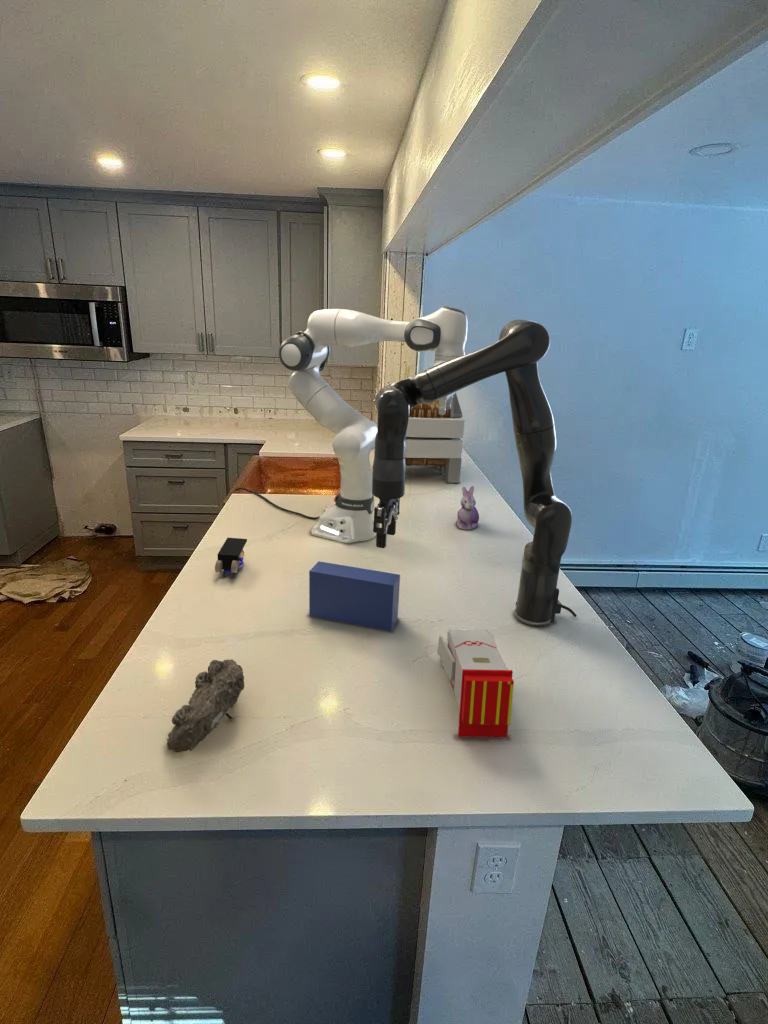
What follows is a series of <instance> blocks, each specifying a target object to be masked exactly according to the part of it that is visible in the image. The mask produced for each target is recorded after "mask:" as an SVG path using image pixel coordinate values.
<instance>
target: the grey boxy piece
mask: <svg viewBox="0 0 768 1024" xmlns="http://www.w3.org/2000/svg"><path fill="white" fill-rule="evenodd" d="M464 429H465V419H464V418H463V411H462V408H461V405H460V402H459V398H458V395H457V392H456V393H455V394H454V395H453V398H452V402H451V409H450V410H446V412H445V414H444V415H440V414H439V401H435V402H432V403H429V404H420V405H417V406H415V407H413V408H410V412H409V421H408V427H407V432H406V450H405V464H406V467H407V466H411V467H412V466H413V467H415V466H416V467H417V466H418V467H436V468H437V470H438V469H439V473H440V474H441V475H443V478H444V479H445V481H446V482H447V483H449V484H455V483H456V484H459V483H461V472H462V461H463V460H462V453H463V442H464V441H463V440H462V439H463V438H464V431H465V430H464Z"/></svg>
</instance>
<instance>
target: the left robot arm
mask: <svg viewBox="0 0 768 1024" xmlns="http://www.w3.org/2000/svg"><path fill="white" fill-rule="evenodd" d="M467 339H468V317H467V314H466V312H465V311H464V310H462V309H460V308H456V307H451V306H441V307H440V308H439V309H437V310H436V311H434V312H432V313H430V314H427V315H423V316H421V317H417V318H414V319H412V320H411V321H406V320H405V321H404V320H392V319H391V320H390V319H385V318H381V317H379V316H375V315H371V314H368V313H365V312H361V311H357V310H355V309H354V310H352V309H349V308H348V309H346V308H324V309H318V310H317V309H316V310H314V311H313V312H311V314H310V315H309V317H308V319H307V325H306V330H305V331H303V330H299V331H297V332H296V333H294V334H292V335H290V336H288V337H287V338H286V339H284V340H283V341H282V343H281V344H280V345H279V348H278V358H279V361H280V363H281V364H282V366H283V367H284V368H286V369H287V370H290V371H292V373H291V374H290V376H289V378H288V381H287V383H288V388H289V390H290V391H291V393H292V394H293V396H294V397H295V399H297V401H298V402H299V403H300V405H301V406H302V407H303V408H304V409H305V410H306V411H307V413H309V415H311V417H312V418H313V419H314V420H315V421H316V422H317V423H318V424H319V425H320V426H321V427H323V428H325V429H327V430H330V431H332V432H333V433H334V434H336V435H335V436H334V439H333V441H332V449H333V452H334V454H335V456H336V457H337V462H338V466H339V473H340V490H339V491H338V492H337V494H336V495H335V496H334V497H333V502H334V504H333V505H331V506H329V507H328V508H326V509H323V511H322V512H321V514H320V515H319V516H308V515H306V514H303V513H300V512H297V511H293V510H290V509H287V508H285V507H281V506H279V505H277V504H276V503H274V502H272V501H271V500H269V499H268V498H267V497H265V496H264V495H262V494H260V493H259V492H256V491H253V490H251V489H248V488H246V487H237V488H236V489H235V490H234V491H235V492H237V491H240V490H241V491H246V492H248V493H250V494H254V495H257V496H258V497H260V498H261V499H263V500H264V501H265V502H267V503H268V504H270V505H272V506H273V507H275V508H277V509H279V510H280V511H284V512H287V513H290V514H294V515H297V516H301V517H303V518H306V519H309V520H318V521H317V523H315V524H314V525H313V526H312V528H311V530H310V533H311V536H315V537H319V538H323V539H326V540H330V541H336V542H339V543H343V544H352V543H357V542H365V541H368V540H372V539H373V538H376V535H377V533H375V532H373V525H374V508H375V496H374V495H373V494H372V477H373V469H372V466H371V460H370V454H371V452H372V451H374V450H375V437H376V434H377V427H378V423H377V422H375V421H373V420H371V419H369V418H367V417H366V416H364V415H363V414H362V413H360V412H359V411H358V410H356V409H355V408H354V407H352V406H351V405H350V404H348V402H346V401H345V399H343V398H342V397H341V396H340V395H339V394H338V393H337V392H336V391H335V390H334V388H333V387H332V386H331V385H330V384H329V383H328V382H327V381H326V380H325V379H324V378H323V377H322V376H321V373H320V372H322V371H323V370H324V368H325V366H326V364H327V361H328V359H329V358H330V355H331V352H332V351H331V349H332V347H331V346H333V347H342V348H343V347H345V348H353V347H361V346H366V345H370V344H376V343H380V342H381V343H382V342H395V343H396V342H397V343H405V344H406V346H407V347H408V348H409V349H411V350H413V351H415V352H420V353H424V352H429V351H431V352H433V351H434V360H433V361H434V362H433V366H435V365H438V364H440V363H442V362H445V361H447V360H450V359H453V358H456V357H460V356H463V355H466V351H465V346H466V343H467ZM457 392H458V391H456V392H454V393H452V394H450V395H448V396H446V397H443V398H441V399H439V400H437V401H439V414H440V415H444V414H445V412H446V410H450V409H451V402H452V398H453V395H454V394H455V393H456V394H457Z"/></svg>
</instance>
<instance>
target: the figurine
mask: <svg viewBox="0 0 768 1024" xmlns="http://www.w3.org/2000/svg"><path fill="white" fill-rule="evenodd" d="M474 490H475V486H474V485H471V487H469V490H467V488H466V487H465V486H462V487H461V491H462V497H461V500H460V505H461V508H460V509H458V510H457V515H456V516H457V519H456V526H458V528H459V529H461V530H473V529H475V528H477V527H478V525H479V521H480V514H479V511H478V509H477V507H476V504H477V502H476V499H475V496H474V492H475V491H474Z"/></svg>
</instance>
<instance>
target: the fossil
mask: <svg viewBox="0 0 768 1024" xmlns="http://www.w3.org/2000/svg"><path fill="white" fill-rule="evenodd" d="M243 670H244V669H243V667H242V665H240V664H237V662H236V661H235V660H234V659H232V658H231V659H227V658H226V659H224V660H223V661H222V660H217V659H212V660H211V661H210V663H209V665H208V666H207V671H201V672H199V673H198V674H197V675H196V676H195V680H194V684H195V685H194V687H195V689H194V690H193V693H192V694H191V697H190V698H189V700H188V704H184V705H182V706H181V707H180V709H177V710H176V711H175V713H174V715H173V716H172V718H171V723H172V724H173V727H172V730H171V731H170V732H168V734H167V738H166V741H167V742H166V745H167V749H168V750H169V751H173V752H174V753H176V754H178V753H182V752H188V751H189V752H192V751H193V750H195V748H196V747H197V746H199V744H200V743H201V742H203V741H204V740H205V739H206V738H207V737H208V736H209V735H210V734H211V733H212V732H214V730H215V729H217V727H218V726H219V724H220V722H221V721H222V720H223V719H224V718H225V716H226V717H227V719H229V720H233V717H232V715H230V714H229V710H230V709H231V708H234V706H235V704H236V703H237V702H238V699H239V697H240V695H241V693H242V691H243V690H245V689H244V688H245V675H244V671H243Z"/></svg>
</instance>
